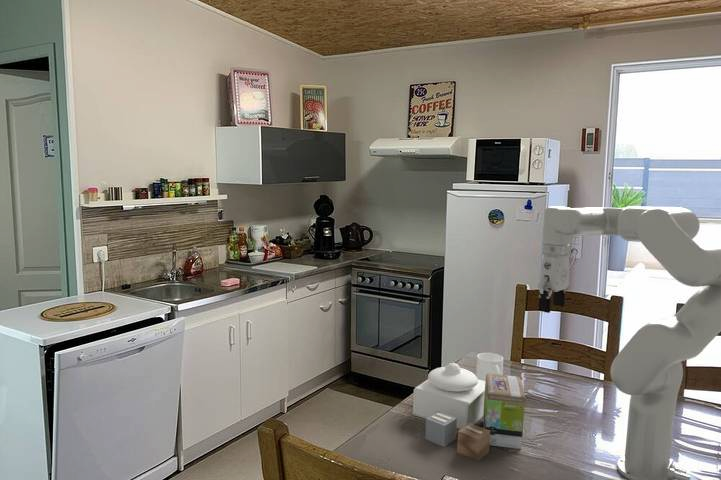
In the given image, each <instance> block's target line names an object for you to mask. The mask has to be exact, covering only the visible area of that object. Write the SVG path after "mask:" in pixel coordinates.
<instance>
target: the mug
mask: <svg viewBox="0 0 721 480" xmlns="http://www.w3.org/2000/svg"><path fill="white" fill-rule="evenodd" d="M475 372H476V373H475V375H476V377H477V379H478V380H482V381H486V374H496V375H504V374H503V372H504V357H503V356H502V355H501V354H497V353H493V352H481V353H478V354H477V355H476V371H475Z"/></svg>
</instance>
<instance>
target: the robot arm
mask: <svg viewBox="0 0 721 480" xmlns="http://www.w3.org/2000/svg"><path fill="white" fill-rule="evenodd" d="M700 228H701V227H700V220H699V218H698V216H697V215H696V214H695V213H694V212H693V211H692V210H690V209H687V208H684V207H678V206H625V207H574V208H573V207H572V208H571V207H567V206H560V205H559V206H557V205H556V206H547V207H546V208H545V209H544V213H543V230H542V231H543V232H542V244H541V255H542V260H541V261H542V262H541V267H540V275H539V283H538V286H537V287H538V298H539V299H538V311H539V312H543V313H547V314H549V313H551V306H552V305H551V304H552V303H553V306H558V307H562V308H563V307H565V303H566V294H567V293H566V292H567V288H568V287H570V255H571V244H572V237H583V236H584V237H585V236H613V237H615V236H616V237H620V238H621V239H622V240H624V241H625V242H634V243H635V242H637V243H641V244H642V245H643V246H644V247H645V249H646V251H648V252H649V253H650V255H652V257H654V258H655V259H656V261H657V262H659V264H660V266H662V267H663V268H664V270H666V271H667V273H669V274H670V276H671V277H672V278H674V279H675V280H676V281H677V282H679V283H681V284H682V285H685V286H687V287H695V288H696V287H698V288H699V287H701V288H700V289H699V290H698V291H696V292H695V293H694V294H692V295H691V296H690V298H688V299H687V301H686V302H685V303H684V305H683V306H682V307H681V308H680V309H679V310H678V311H677V312H676V313H675V314H673V315H672V316H670V317H668V318H664V319H659V320H655V321H651V322H648V323H647V324H645V325H643V326H641V328H640V329H638V330H637V331H636V332H635V334H633V336H632V337H631V338H630V340H629V341H628V342H627V343H626V344H625V345H624V347H622V349H621V350H620V351H619V353H618V354H617V355H616V356H615V358H614V359H613V361H612V363H611V366H610V379H611V380H612V383H613V385H614V386H615V388H616V389H617V390H619V391H620V392H621V393H623V394H625V395H629V396H630V399H629V404H628V405H629V406H628V407H629V408H628V415H627V417H628V418H627V428H626V438H625V451H624V456H621V457H620V458H619V459H618V460H617V463H616V468H617V470H618V472H619V473H620V475H622V476H623V477H625V478H626V479H627V480H691V475H689V474H687V470H686V469H683V468H679V467H676V465H674V459H673V458H671V451H672V441H673V432H674V424H675V423H674V422H675V416H676V415H675V414H676V406H677V401H678V399H677V398H678V395H679V391H680V388H681V385H682V382H683V377H684V369H683V365H682V364H683V363H682V362H684V361H688V360H691V359H694V358H696V357H698V356H699V355H700V354H701V353H702V352H703V351H704V350H705V349H706V347H707V346H708V345H709V344H710V343H711V342H712V341H713V340H714V339H715V338H716V337H717V336H718V335H719V334H720V333H721V243H711V244H700V245H698V244H697V242H695V241H694V240H693V239H694V238H695V237H697V235H698V233H699V231H700ZM552 294H553V300H552V298H551V296H552ZM552 301H553V302H552Z"/></svg>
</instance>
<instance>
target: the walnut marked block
mask: <svg viewBox="0 0 721 480" xmlns="http://www.w3.org/2000/svg"><path fill="white" fill-rule="evenodd" d="M490 446H491V445H490V430H488V429H485V428H484V427H482V426H479V425H476V424H475V425H474V424H471V423H469V424H468V425H466V426H465V427H463V428H462V429H458V430H457V446H456V448H457V449H456V450H457V451H456V453H458V454H460V455H462V456H465V457H467V458H470V459H473V460H474V461H477V462H478V461H480V460H481V459H482V458H484V457H485V456H487V454H488V453H490Z"/></svg>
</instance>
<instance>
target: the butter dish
mask: <svg viewBox="0 0 721 480" xmlns="http://www.w3.org/2000/svg"><path fill="white" fill-rule="evenodd" d="M427 375H428V376H427V379H426V380H425V381H423V382H422V383H420V384H419V385H417V386H416V387H415V388H414V389H413V401H412V403H413V405H412V415H413V416H416V417H419V418H422V419H425V420H426V418H428V417H430V416H431V415H433V414H435V413H436V412H438V411H439V412H442V413H444V414H447V415H450V416H452V417H455V418H457V428H456V430H457V429H458V430H460V429H462V428H463V427H465V426H466V425H468V424H469V423H471V424H474V425H476V424H477V423H478V422H479V421H480V420H481V419H482V418H483V414H484V397H485V382H486V381H482V380H478V379H477V377H476V373H473V372H472V371H470V370H468V369H465V368H463V367H460V365H459V364H457V363H455V362H450V363H448V364H447V365H446V366H441V367H436V368H435V369H432V370H430V371H429V373H428V374H427Z"/></svg>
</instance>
